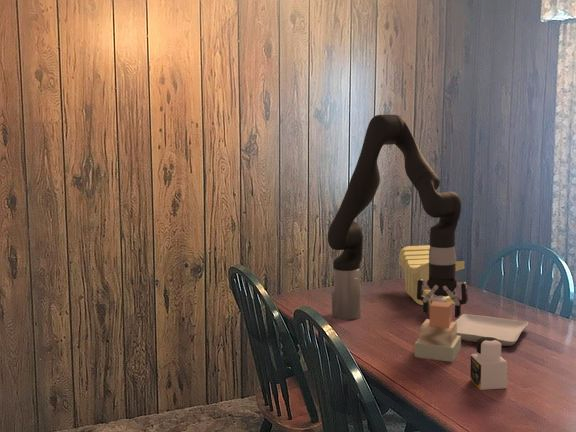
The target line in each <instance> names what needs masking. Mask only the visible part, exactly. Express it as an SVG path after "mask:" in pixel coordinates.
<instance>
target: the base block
mask: <svg viewBox="0 0 576 432" xmlns="http://www.w3.org/2000/svg"><path fill="white" fill-rule="evenodd" d="M461 343H462V340H461V336H457V337H456V339H455V341H454V342H453V344H452V346H451V347H450V346H441V345H433V344H424V343H419V338H417V340H416V341H415V342H414V358H419V359H420V358H421V359H428V360H437V361H443V362H452V363H453V362H455V359H456V358H457V356H458V354H459V353H460V351H461V349H462V344H461Z"/></svg>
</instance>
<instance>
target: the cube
mask: <svg viewBox="0 0 576 432" xmlns="http://www.w3.org/2000/svg"><path fill="white" fill-rule="evenodd" d="M452 310H453V304H452V303H449V302H436V301H433V302H432V304H431V305H429V319H430V326H431V327H441V328H449V327H450V325H451V323H452V322H453V314H452V313H453V311H452Z"/></svg>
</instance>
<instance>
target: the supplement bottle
mask: <svg viewBox="0 0 576 432" xmlns="http://www.w3.org/2000/svg"><path fill="white" fill-rule="evenodd" d="M433 301H436V302H447V299H446V297H444V296H436V295H435V294H433V296H432V297H431V299H430V305H431V304H432V302H433ZM430 305H429V306H430Z"/></svg>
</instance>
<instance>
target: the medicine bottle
mask: <svg viewBox="0 0 576 432" xmlns="http://www.w3.org/2000/svg"><path fill="white" fill-rule="evenodd" d="M508 364H509V363H508V361H507V360H505V359H504V358H503V357H502V346H501V341H500V340H498V339H496V338H493V337H483V338H480V339H478V340H477V342H476V353H471V354H470V380H471V382H472V383H474V385H475V386H476V387H477V388H478V389H479V390H480V391H487V390H500V389H501V390H503V389H505V390H506V389H507V388H508V366H509V365H508Z"/></svg>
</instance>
